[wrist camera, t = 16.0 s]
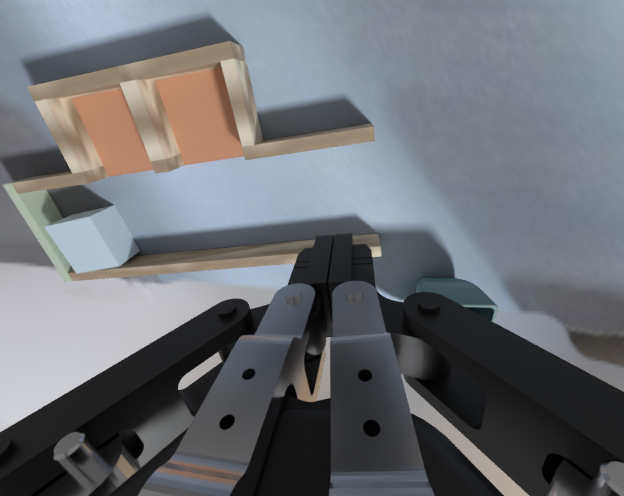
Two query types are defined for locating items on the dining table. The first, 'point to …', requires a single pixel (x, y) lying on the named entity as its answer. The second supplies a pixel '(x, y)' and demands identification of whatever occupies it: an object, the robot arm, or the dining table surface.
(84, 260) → the pale blue block
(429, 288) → the flower pot
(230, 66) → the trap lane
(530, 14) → the dining table surface
